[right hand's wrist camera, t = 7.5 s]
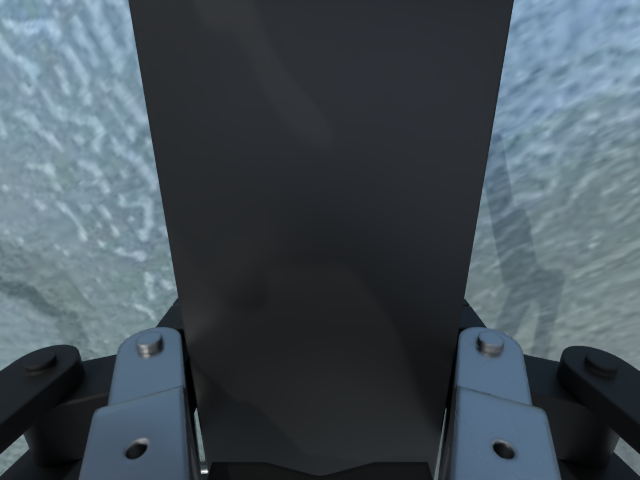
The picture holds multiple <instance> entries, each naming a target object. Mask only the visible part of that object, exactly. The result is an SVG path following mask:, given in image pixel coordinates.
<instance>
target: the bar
mask: <svg viewBox="0 0 640 480" xmlns="http://www.w3.org/2000/svg"><path fill="white" fill-rule="evenodd" d="M513 2H514V0H129V6H130V12H131V18H132V24H133V30H134V36H135V42H136V48H137V54H138V60H139V66H140V72H141V78H142V84H143V90H144V96H145V101H146V107H147V113H148V119H149V125H150V131H151V137H152V143H153V149H154V155H155V161H156V167H157V173H158V179H159V185H160V191H161V197H162V203H163V209H164V215H165V221H166V227H167V232H168V238H169V244H170V250H171V256H172V262H173V268H174V274H175V280H176V286H177V292H178V298H179V304H180V310H181V316H182V322H183V328H184V334H185V340H186V346H187V352H188V358H189V363H190V369H191V375H192V381H193V387H194V393H195V399H196V405H197V411H198V417H199V423H200V429H201V435H202V441H203V447H204V453H205V459H206V465H207V471H208V475H209V471H210V468H211V465H212V462H267V463H271V464H275V465H278V466H282V467H286V468H290V469H293V470H297V471H301V472H305V473H308V474H312V475H317V476H323V475H328V474H332V473H335V472H339V471H343V470H347V469H350V468H354V467H358V466H362V465H365V464H369V463H373V462H428V465H429V468H430V471H431V475H432V478H433V480H434V475H435V469H436V463H437V457H438V451H439V445H440V439H441V433H442V427H443V421H444V415H445V409H446V403H447V397H448V391H449V385H450V379H451V373H452V367H453V361H454V355H455V349H456V343H457V337H458V331H459V325H460V319H461V313H462V307H463V301H464V295H465V289H466V283H467V277H468V271H469V265H470V259H471V253H472V247H473V241H474V235H475V229H476V223H477V217H478V212H479V206H480V200H481V194H482V188H483V182H484V176H485V170H486V164H487V158H488V152H489V146H490V140H491V134H492V128H493V122H494V116H495V110H496V104H497V98H498V92H499V86H500V80H501V74H502V68H503V62H504V56H505V50H506V44H507V38H508V32H509V26H510V20H511V14H512V8H513Z"/></svg>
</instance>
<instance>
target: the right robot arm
mask: <svg viewBox="0 0 640 480" xmlns="http://www.w3.org/2000/svg"><path fill="white" fill-rule="evenodd" d="M196 407H197V405H196V399H195V393H194V387H193V381H192V375H191V369H190V363H189V358H188V352H187V346H186V340H185V334H184V328H183V322H182V316H181V310H180V304H179V298H177V300H176V301H175V302H174V304H173V306H171V308H170V309H169V310H168V312H167V313H166V314H165V316H164V317H163V318H162V320H161V321H160V322H159V324H158V325H157V326H156V328H150V329H147V330H143V331H141V332H138V333H136V334H134V335H132V336H131V337H129V338H128V339H126V340H125V341H124V342H123V343H122V344H121V345H120V347H119V348H118V351H117V354H116V355H112V356H107V357H102V358H97V359H92V360H88V361H83V362H82V360H81V357H80V353H79V351H78V349H77V348H76V347H74V346H70V345H55V346H50V347H45V348H42V349H39V350H36V351H33V352H31V353H29V354H27V355H25V356H23V357H21V358H19V359H18V360H16V361H15V362H13V363H12V364H10V365H9V366H7V367H6V368H4V369H3V370H1V371H0V454H1V453H2V452H3V451H4V450H5V449H7V448H8V447H9V446H10V445H11V444H12V443H13V442H14V441H16V440H17V439H18V438H19V437H20V436H21V435H22V434H24V436H25V439H26V441H27V444H28V446H29V448H30V449H29V450H28V451H27V452H26V453H25V454H24V455H23V456H21V457H20V458H19V459H18V460H17V461H16V462H15V463H14V464H13V465H12V466H11V467H10V468H9V469H8V470H7V471H6V472H5V473H4V474H2V475H1V476H0V480H433V478H432V475H431V471H430V468H429V465H428V462H373V463H369V464H365V465H362V466H358V467H354V468H350V469H347V470H343V471H339V472H335V473H332V474H328V475H323V476H317V475H312V474H308V473H305V472H301V471H297V470H293V469H290V468H286V467H282V466H278V465H275V464H271V463H267V462H212V465H211V468H210V471H209V475H208V471H207V465H206V462H203V463H200V458H199V449H198V439H197V430H196V421H195V415H194V412H195V410H196ZM619 437H621V438H622V439H623V440H624V441H626V442H627V443H628V444H629V445H630V446H631V447H632V448H633V449H635V450H636V451H637V452H638V453H639V454H640V371H639V370H637V369H636V368H634V367H633V366H631V365H630V364H628V363H627V362H625V361H624V360H622V359H620V358H618V357H617V356H615V355H612V354H610V353H608V352H605V351H602V350H599V349H596V348H592V347H586V346H571V347H568V348H566V349H565V350H563V352H562V356H561V359H560V362H557V361H552V360H547V359H542V358H537V357H532V356H528V355H525V354H523V351H522V348H521V347H520V345H519V344H518V343H517V342H516V341H515V340H514V339H512V338H511V337H509V336H508V335H506V334H504V333H502V332H499V331H497V330H493V329H490V328H487V327H486V326H485V325H484V323H483V322H482V321H481V319H480V318H479V317H478V315H477V314H476V313H475V312H474V310H473V309H472V308H471V307H469V304H468V302H467V301H466V300H465V299H464V301H463V307H462V313H461V319H460V325H459V331H458V337H457V343H456V349H455V355H454V361H453V367H452V373H451V379H450V385H449V391H448V397H447V403H446V415H445V421H444V430H443V439H442V449H441V458H440V467H439V477H438V480H640V476H639V475H638V474H637V473H635V472H634V471H633V470H632V469H631V468H630V467H629V466H628V465H627V464H626V463H625V462H624V461H623V460H622V459H621V458H620V457H619V456H617V455H616V454H615V453H614V452H613V451H614V449H615V447H616V444H617V442H618V440H619Z"/></svg>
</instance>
